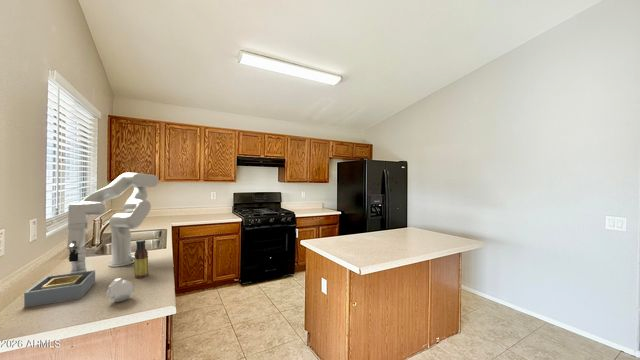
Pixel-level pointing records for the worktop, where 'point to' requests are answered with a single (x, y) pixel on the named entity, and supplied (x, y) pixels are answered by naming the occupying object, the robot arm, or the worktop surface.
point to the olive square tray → (63, 282)
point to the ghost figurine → (120, 290)
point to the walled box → (58, 290)
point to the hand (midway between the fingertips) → (77, 258)
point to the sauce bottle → (141, 260)
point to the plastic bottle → (79, 261)
